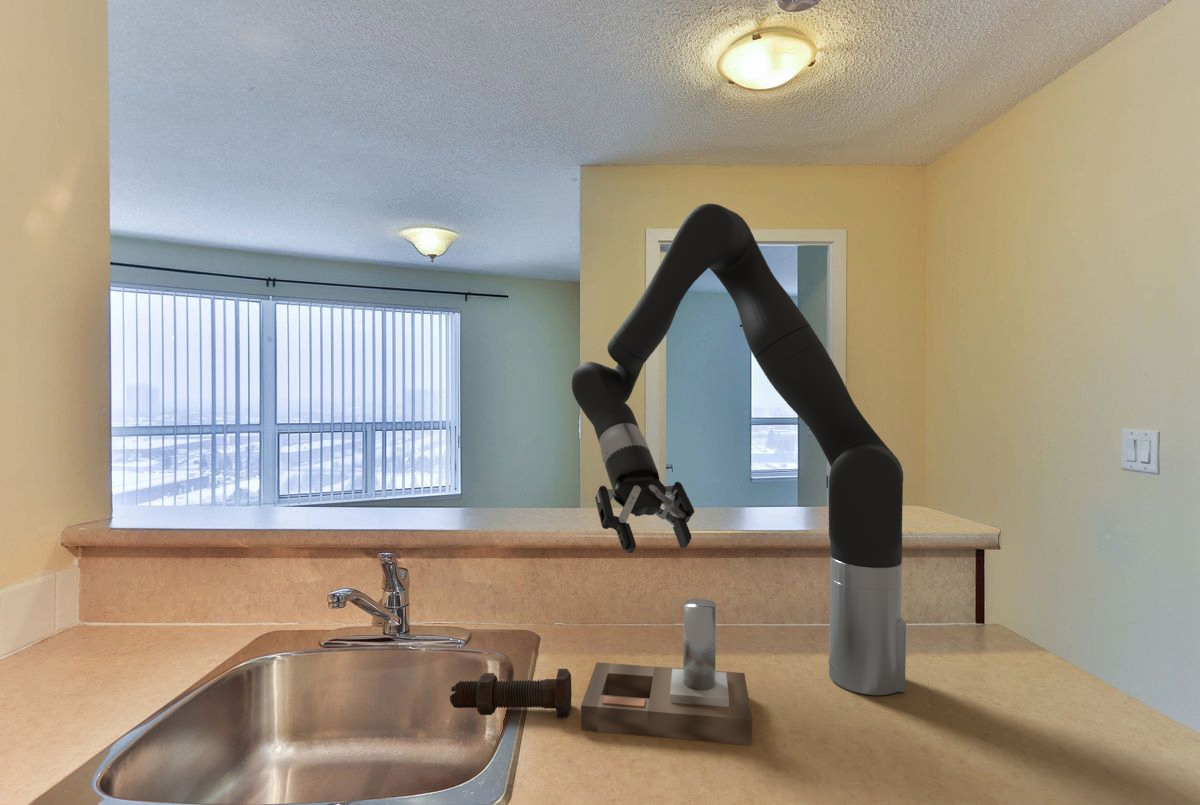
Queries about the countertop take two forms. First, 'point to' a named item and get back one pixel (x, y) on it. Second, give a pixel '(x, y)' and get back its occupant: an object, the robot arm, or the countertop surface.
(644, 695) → the recessed board
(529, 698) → the bolt
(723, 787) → the countertop surface
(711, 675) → the peg
